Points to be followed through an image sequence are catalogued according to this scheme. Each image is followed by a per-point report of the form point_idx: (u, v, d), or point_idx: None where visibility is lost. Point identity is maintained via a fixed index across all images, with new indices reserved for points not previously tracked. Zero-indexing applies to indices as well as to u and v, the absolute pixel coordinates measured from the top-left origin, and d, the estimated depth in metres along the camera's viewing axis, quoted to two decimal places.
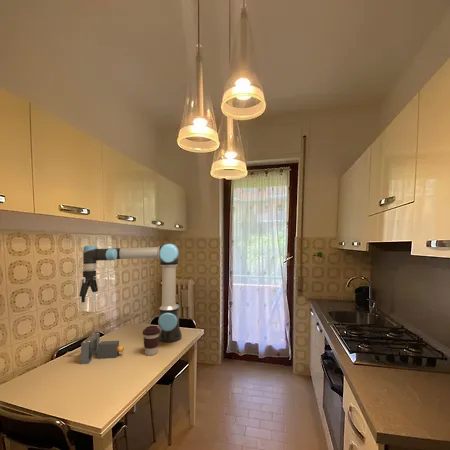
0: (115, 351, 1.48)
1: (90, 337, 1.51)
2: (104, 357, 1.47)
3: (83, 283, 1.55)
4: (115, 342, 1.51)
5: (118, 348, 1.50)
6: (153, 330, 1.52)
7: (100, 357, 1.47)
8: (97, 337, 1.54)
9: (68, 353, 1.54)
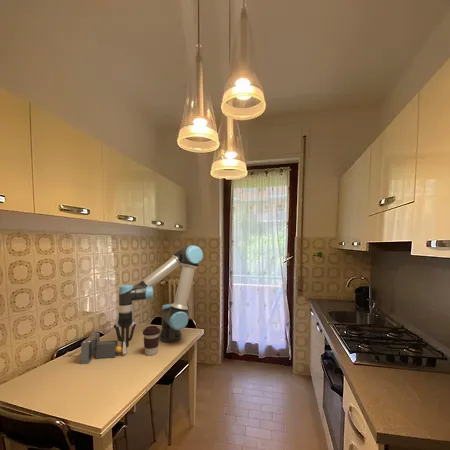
0: (113, 351, 1.48)
1: (90, 337, 1.51)
2: (102, 357, 1.47)
3: None
4: (113, 342, 1.50)
5: (116, 348, 1.50)
6: (153, 330, 1.52)
7: (98, 357, 1.47)
8: (97, 337, 1.54)
9: (68, 353, 1.54)
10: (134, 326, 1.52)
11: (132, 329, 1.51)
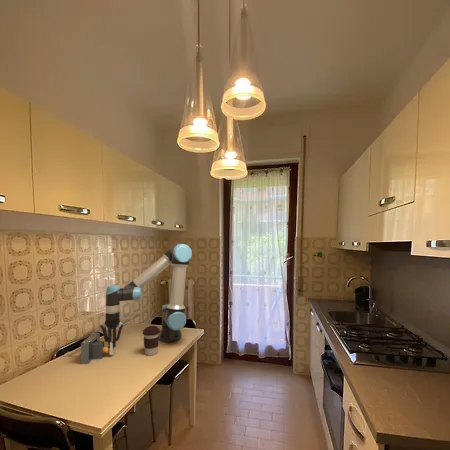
0: (100, 352, 1.47)
1: (90, 337, 1.51)
2: None
3: None
4: (100, 343, 1.49)
5: (103, 349, 1.49)
6: (153, 330, 1.52)
7: None
8: (97, 337, 1.54)
9: (68, 353, 1.54)
10: (121, 327, 1.51)
11: (119, 330, 1.51)
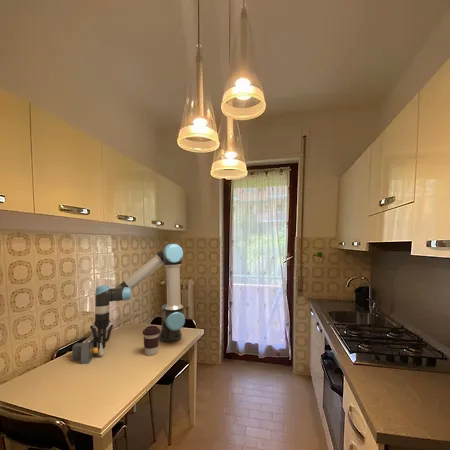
0: None
1: (90, 337, 1.51)
2: (78, 359, 1.45)
3: None
4: None
5: (93, 350, 1.48)
6: (153, 330, 1.52)
7: (74, 359, 1.45)
8: None
9: (68, 353, 1.54)
10: (111, 327, 1.50)
11: (109, 330, 1.50)
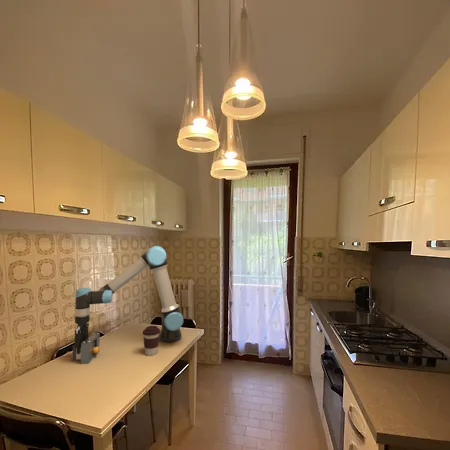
0: None
1: (90, 337, 1.51)
2: (78, 359, 1.46)
3: (76, 334, 1.43)
4: None
5: (93, 349, 1.48)
6: (153, 330, 1.52)
7: (74, 358, 1.46)
8: (97, 337, 1.54)
9: (68, 353, 1.54)
10: (88, 325, 1.56)
11: (87, 329, 1.55)
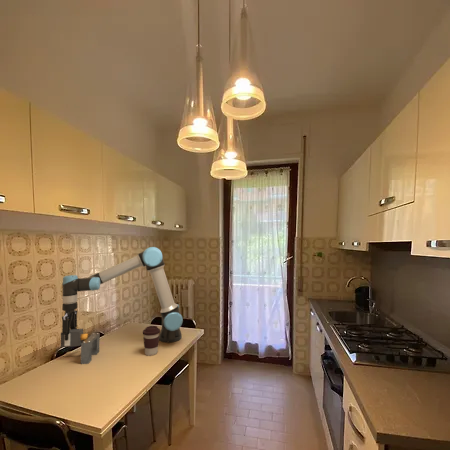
0: (78, 339, 1.47)
1: (90, 337, 1.51)
2: (66, 346, 1.46)
3: (63, 321, 1.43)
4: (78, 330, 1.49)
5: (82, 336, 1.48)
6: (153, 330, 1.52)
7: (63, 345, 1.46)
8: (97, 337, 1.54)
9: (68, 353, 1.54)
10: None
11: (76, 316, 1.55)
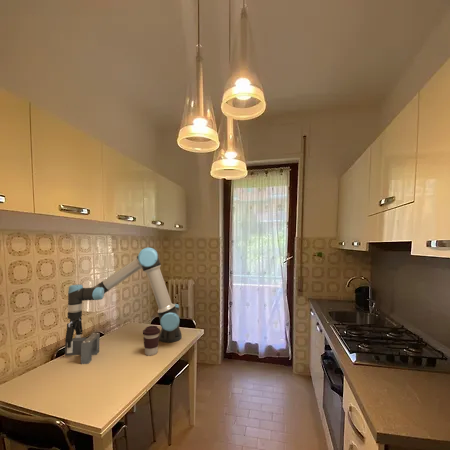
0: None
1: (90, 337, 1.51)
2: (70, 354, 1.51)
3: (68, 328, 1.49)
4: (82, 339, 1.55)
5: None
6: (153, 330, 1.52)
7: (67, 354, 1.51)
8: (97, 337, 1.54)
9: None
10: (81, 319, 1.62)
11: (81, 322, 1.62)
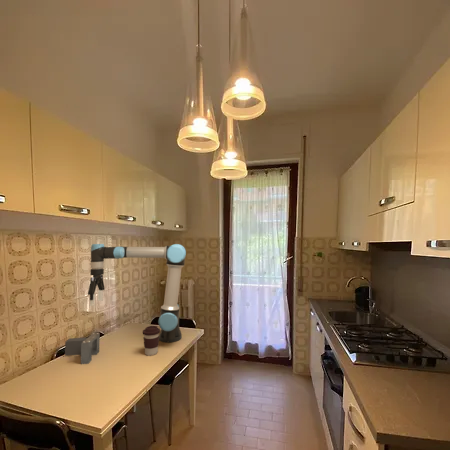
0: None
1: (90, 337, 1.51)
2: (70, 354, 1.51)
3: (91, 281, 1.55)
4: (82, 339, 1.55)
5: None
6: (153, 330, 1.52)
7: (67, 354, 1.51)
8: (97, 337, 1.54)
9: None
10: (102, 277, 1.69)
11: (102, 280, 1.69)
